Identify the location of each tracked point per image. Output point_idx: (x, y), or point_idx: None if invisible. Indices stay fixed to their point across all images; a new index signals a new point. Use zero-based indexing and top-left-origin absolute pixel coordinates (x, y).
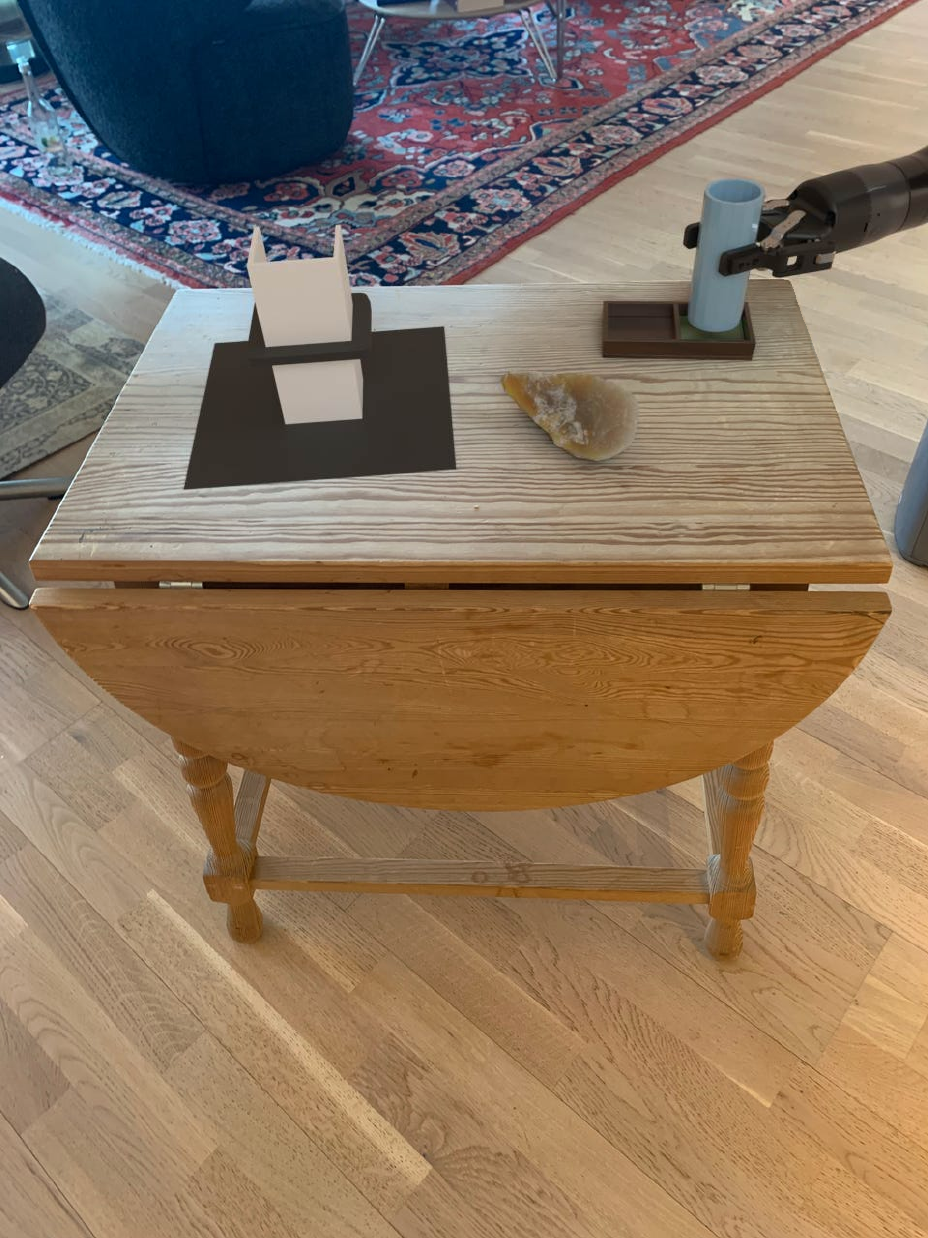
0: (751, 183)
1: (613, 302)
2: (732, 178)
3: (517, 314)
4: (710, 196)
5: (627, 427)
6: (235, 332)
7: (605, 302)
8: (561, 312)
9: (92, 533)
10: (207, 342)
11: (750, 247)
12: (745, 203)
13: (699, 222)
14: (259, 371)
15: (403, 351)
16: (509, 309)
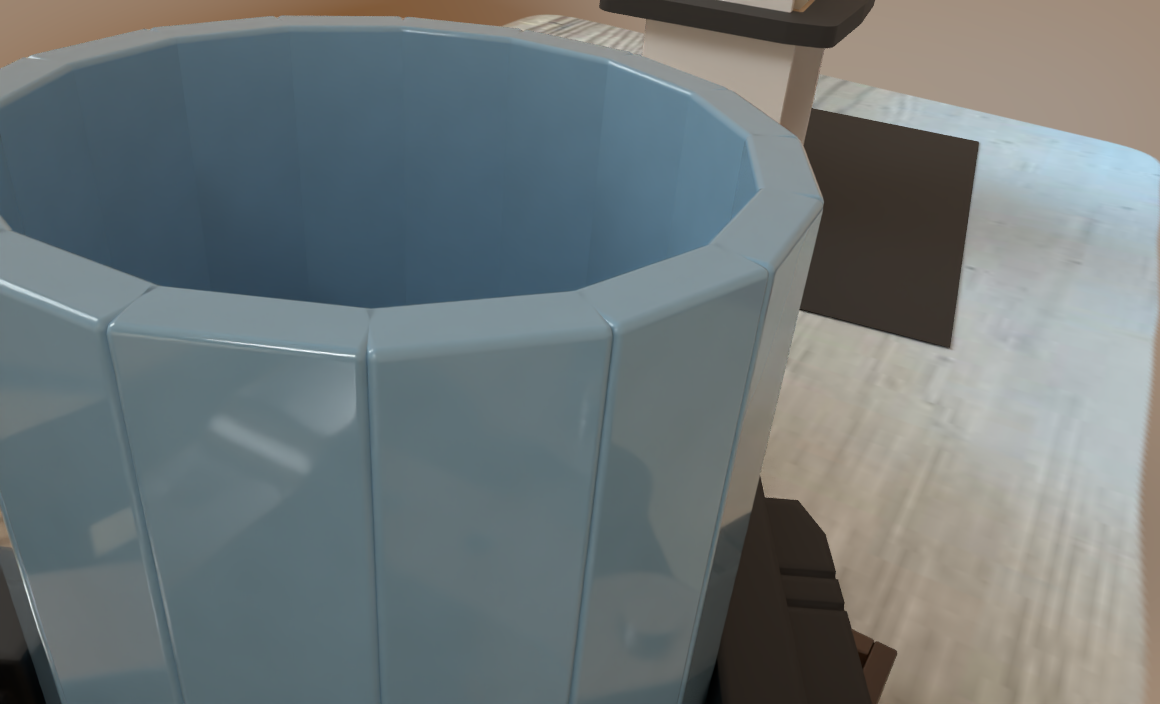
0: (420, 309)
1: (864, 675)
2: (769, 243)
3: (980, 495)
4: (466, 26)
5: None
6: (1014, 161)
7: (876, 648)
8: (961, 605)
9: (558, 26)
10: (985, 139)
11: (2, 570)
12: (40, 61)
13: (754, 525)
14: (858, 148)
15: (847, 267)
16: (1021, 491)
